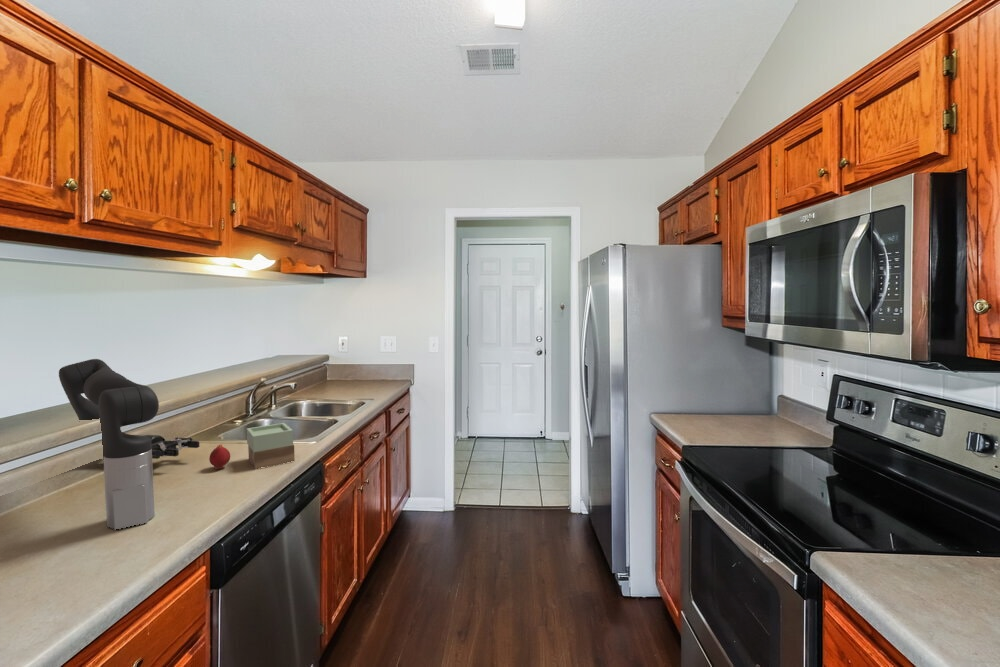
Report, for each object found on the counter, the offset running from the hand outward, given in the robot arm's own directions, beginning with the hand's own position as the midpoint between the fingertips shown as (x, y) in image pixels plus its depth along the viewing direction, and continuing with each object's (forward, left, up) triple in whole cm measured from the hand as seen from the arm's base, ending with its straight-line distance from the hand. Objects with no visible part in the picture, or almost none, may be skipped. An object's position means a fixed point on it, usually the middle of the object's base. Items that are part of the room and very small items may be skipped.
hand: (188, 448), depth 149 cm
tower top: (-10, -23, 0) cm, 25 cm away
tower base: (-10, -23, -6) cm, 26 cm away
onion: (-8, -8, -6) cm, 13 cm away
